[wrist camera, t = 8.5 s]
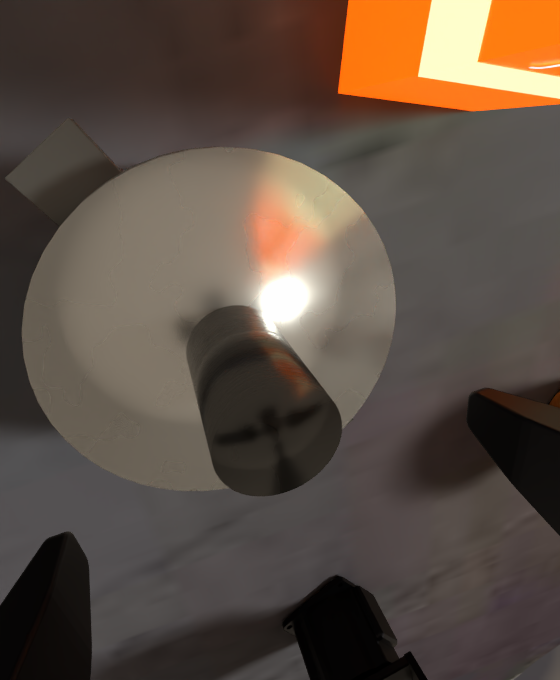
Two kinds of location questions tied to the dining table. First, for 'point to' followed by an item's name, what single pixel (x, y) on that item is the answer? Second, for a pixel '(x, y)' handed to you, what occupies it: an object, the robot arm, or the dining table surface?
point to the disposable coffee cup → (556, 400)
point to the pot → (63, 172)
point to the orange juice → (453, 52)
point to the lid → (210, 321)
